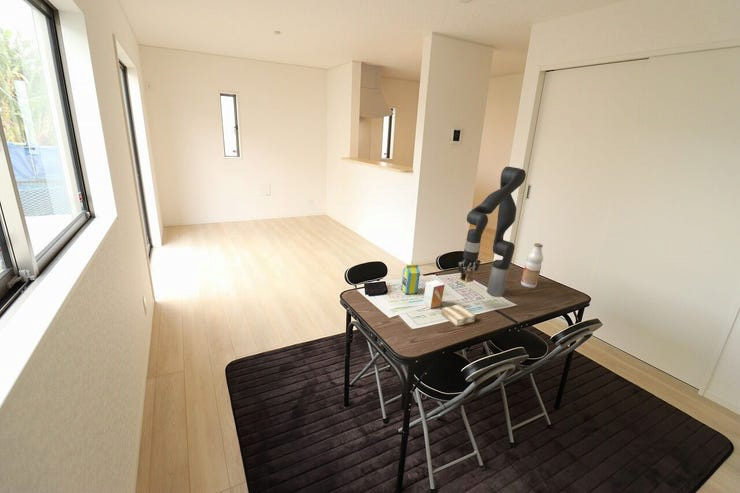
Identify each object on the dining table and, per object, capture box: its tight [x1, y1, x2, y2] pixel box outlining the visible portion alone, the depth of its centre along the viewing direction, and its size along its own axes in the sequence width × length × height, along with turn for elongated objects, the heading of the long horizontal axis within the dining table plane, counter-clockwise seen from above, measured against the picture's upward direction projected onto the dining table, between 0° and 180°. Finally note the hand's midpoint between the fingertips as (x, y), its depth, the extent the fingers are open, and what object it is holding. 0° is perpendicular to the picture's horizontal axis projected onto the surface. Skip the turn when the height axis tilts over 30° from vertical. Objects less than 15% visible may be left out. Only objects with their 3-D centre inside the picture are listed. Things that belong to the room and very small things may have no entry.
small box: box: [422, 279, 445, 309], centre depth 188 cm, size 8×6×13 cm
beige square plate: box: [440, 303, 476, 327], centre depth 178 cm, size 12×12×4 cm
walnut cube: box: [459, 268, 476, 284], centre depth 187 cm, size 5×5×5 cm
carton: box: [400, 260, 421, 296], centre depth 200 cm, size 7×8×18 cm
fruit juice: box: [520, 242, 544, 289], centre depth 221 cm, size 9×9×28 cm
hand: (466, 278), depth 188 cm, fingers closed on walnut cube, 5 cm apart
